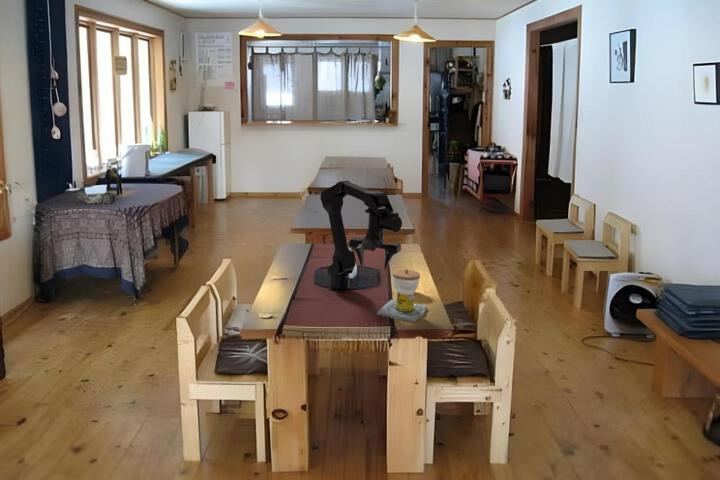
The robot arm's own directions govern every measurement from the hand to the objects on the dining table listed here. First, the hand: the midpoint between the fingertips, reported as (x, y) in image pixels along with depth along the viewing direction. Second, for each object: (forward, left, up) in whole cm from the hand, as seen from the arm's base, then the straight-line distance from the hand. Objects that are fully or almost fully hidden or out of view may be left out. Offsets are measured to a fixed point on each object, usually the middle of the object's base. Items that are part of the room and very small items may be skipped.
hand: (373, 267), depth 281 cm
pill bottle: (+15, -6, -13) cm, 21 cm away
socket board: (+14, -6, -13) cm, 20 cm away
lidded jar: (+8, +17, -13) cm, 23 cm away
